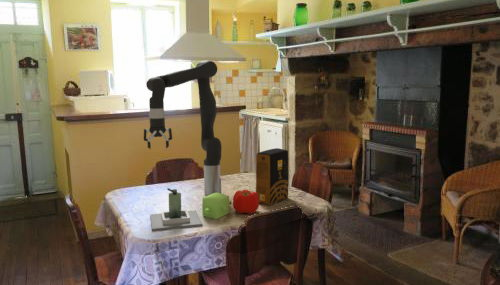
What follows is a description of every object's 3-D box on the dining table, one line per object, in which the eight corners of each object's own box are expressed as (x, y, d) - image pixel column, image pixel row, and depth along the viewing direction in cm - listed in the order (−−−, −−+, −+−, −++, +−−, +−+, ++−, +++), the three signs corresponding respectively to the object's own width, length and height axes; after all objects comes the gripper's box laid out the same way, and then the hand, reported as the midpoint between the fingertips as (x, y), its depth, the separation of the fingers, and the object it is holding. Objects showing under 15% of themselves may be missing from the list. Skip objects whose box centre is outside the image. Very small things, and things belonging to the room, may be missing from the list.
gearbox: (212, 223, 186) (212, 204, 185) (196, 218, 192) (196, 199, 190) (235, 212, 201) (235, 194, 199) (219, 208, 207) (219, 190, 205)
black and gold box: (290, 197, 225) (290, 148, 220) (270, 206, 210) (270, 153, 205) (274, 194, 231) (274, 146, 227) (253, 202, 216) (253, 151, 212)
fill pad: (195, 212, 201) (195, 206, 201) (202, 225, 182) (202, 219, 182) (150, 216, 195) (150, 210, 195) (152, 231, 176) (152, 224, 176)
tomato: (228, 210, 204) (227, 190, 202) (251, 206, 210) (250, 186, 209) (240, 218, 192) (240, 196, 190) (264, 213, 198) (264, 193, 197)
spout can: (181, 216, 192) (180, 186, 189) (181, 220, 187) (181, 189, 184) (167, 217, 191) (167, 186, 188) (168, 221, 185) (167, 190, 183)
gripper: (142, 118, 201) (144, 150, 204) (171, 117, 205) (173, 148, 208) (142, 116, 209) (144, 147, 211) (170, 116, 212) (171, 146, 215)
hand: (158, 148), depth 209 cm, fingers open, 8 cm apart
